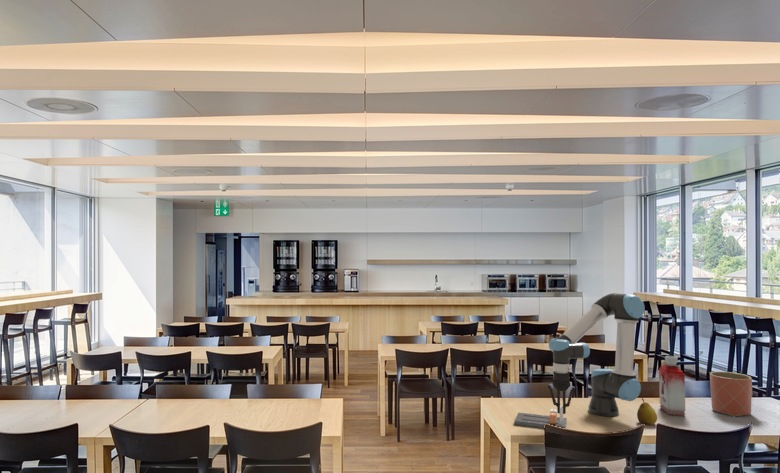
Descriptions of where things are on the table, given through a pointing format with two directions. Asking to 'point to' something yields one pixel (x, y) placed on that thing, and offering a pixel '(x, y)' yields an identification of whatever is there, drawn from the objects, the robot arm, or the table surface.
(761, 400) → the table surface
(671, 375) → the bottle
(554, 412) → the fader grey
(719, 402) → the planter
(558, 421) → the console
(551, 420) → the fader orange
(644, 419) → the fruit
